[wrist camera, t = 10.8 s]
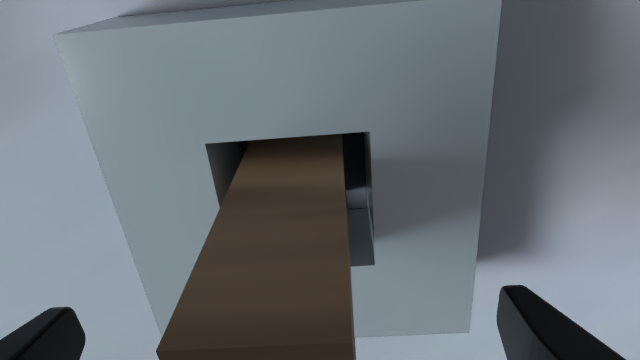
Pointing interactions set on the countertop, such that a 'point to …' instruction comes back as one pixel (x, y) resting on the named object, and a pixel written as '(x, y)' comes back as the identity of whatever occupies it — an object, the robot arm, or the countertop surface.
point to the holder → (301, 134)
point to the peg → (273, 262)
